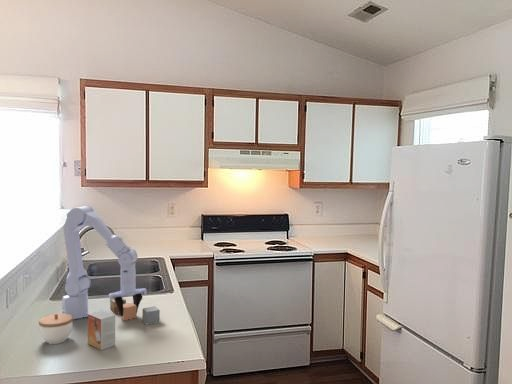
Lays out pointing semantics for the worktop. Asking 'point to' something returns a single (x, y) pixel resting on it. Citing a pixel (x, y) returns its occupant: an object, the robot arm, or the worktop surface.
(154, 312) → the slate cube
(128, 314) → the terracotta cube
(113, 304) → the walnut cube
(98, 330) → the small box
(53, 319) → the lidded jar
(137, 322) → the worktop surface
